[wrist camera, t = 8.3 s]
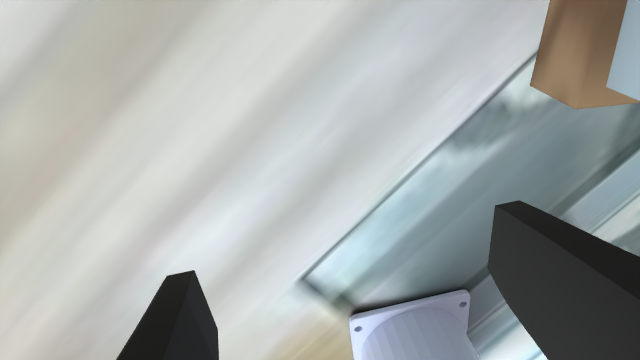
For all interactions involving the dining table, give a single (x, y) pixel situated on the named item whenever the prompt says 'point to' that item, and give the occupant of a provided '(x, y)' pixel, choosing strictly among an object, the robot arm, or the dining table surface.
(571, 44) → the walnut base
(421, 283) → the dining table surface
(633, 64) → the light grey cube
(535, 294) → the robot arm
